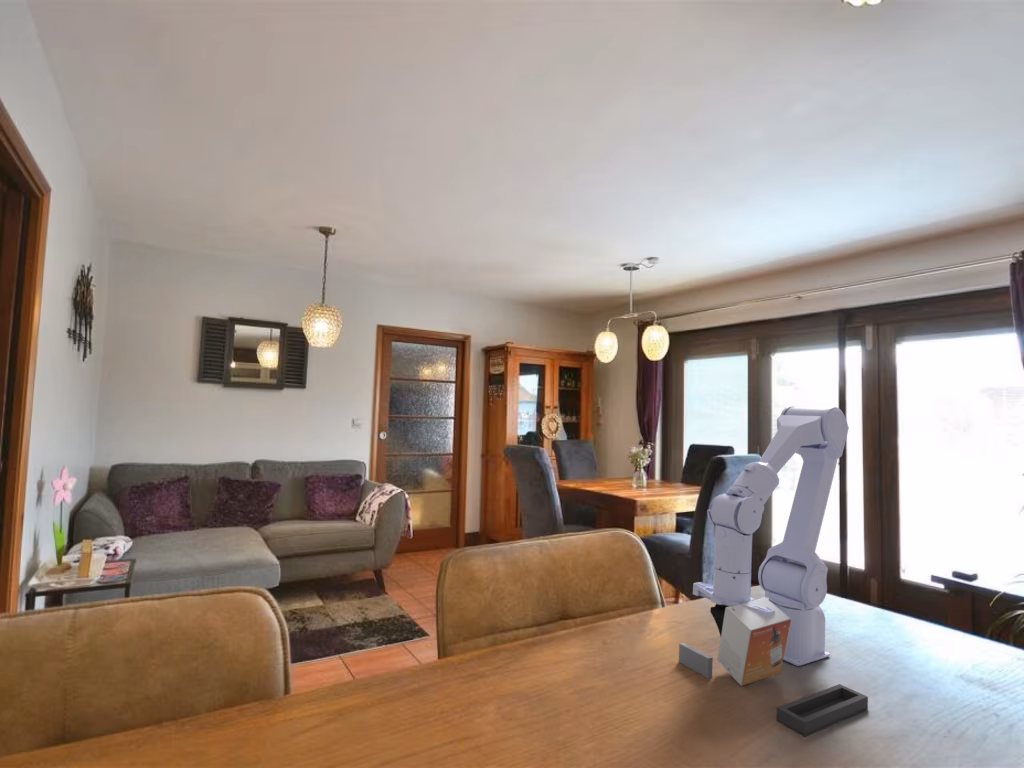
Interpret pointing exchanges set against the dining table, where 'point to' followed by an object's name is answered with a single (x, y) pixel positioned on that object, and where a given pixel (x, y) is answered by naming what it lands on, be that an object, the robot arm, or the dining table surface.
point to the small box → (753, 641)
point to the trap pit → (821, 709)
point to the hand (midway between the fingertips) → (729, 652)
